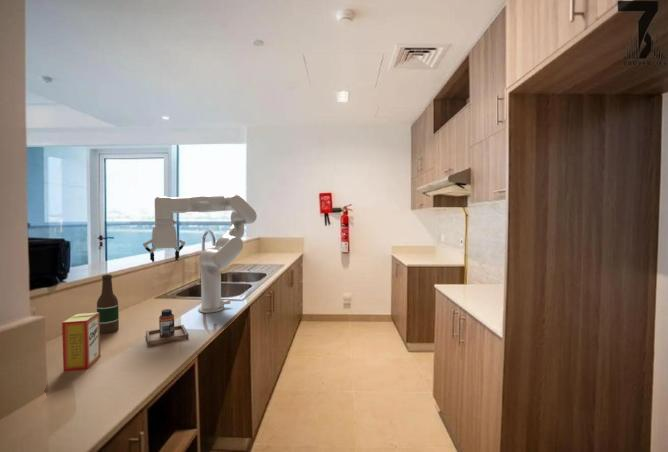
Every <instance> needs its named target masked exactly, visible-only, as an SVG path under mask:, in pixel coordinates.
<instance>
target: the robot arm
mask: <svg viewBox="0 0 668 452" xmlns="http://www.w3.org/2000/svg"><path fill="white" fill-rule="evenodd" d="M228 211H230V212H231V213H230V226H229V228H228V229H227V230H226V231H225V232H224V233H223V234H222V235H221V236H220V237H219V238H218V239H217V240H216V241H215V246H214V247H215V249H214V248H207V249H204V250H202V251H201V253H200V255H199V258H198V261H199V262H198V263H199V267H200V280H201V281H200V283H201V284H200V285H201V286H200V288H201V289H200V290H201V292H200V293H201V306H199V307H198V309H197V310H198V312H199V313H203V314H204V313H205V314H207V313H208V314H209V313H210V314H211V313H218V312H222V311H223V310H224V309H225V305H231V299H228V300H227V299H224V300H223V299H222V275H221V270H223V269H226V268H227V267H228V266H230V264H231V263H233V261H234V260H235V259H236V258H238V256H239V255H240V254H241V252H242V251H243V247H244V242H243V239H242V238H243V237H244V235H245V224H246V225H251V224H253V223H255V222H256V221H257V213H256V212H257V211H256V210H255V209H254V207H252V206H251V205H250V204H249V203H248V202H247V201H246V200H245V199H244V198H242V197H241V196H240V195H238V194H227V195H226V194H222V195H198V196H191V197H188V196H187V197H186V196H177V197H170V196H156V197H155V198H154V226H153V227H152V230H151V231H152V232H151V239H149V240H147V241H146V242H143V243H142V245H143V247H144V249H145V250H146V251H147V252H148V253H149V259H150V261H151V262H152V263H154V262H155V251H156V250H158V249H159V250H160V249H161V250H162V249H174V250H175V251H174V256H175V257H174V260H175V261H179V258H180V251H181V250H183V248H184V247H185V245H186V242H185V241H184V240H182V239H179V238H178V235H177V229H176V226H175V225H178V221H177V220H176V221H175V219H174V214H185V213H193V212H194V213H215V212H228ZM178 243H179V244H180V245H179V246H178ZM150 244H151V247H152V248H149V246H148V245H150Z"/></svg>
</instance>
